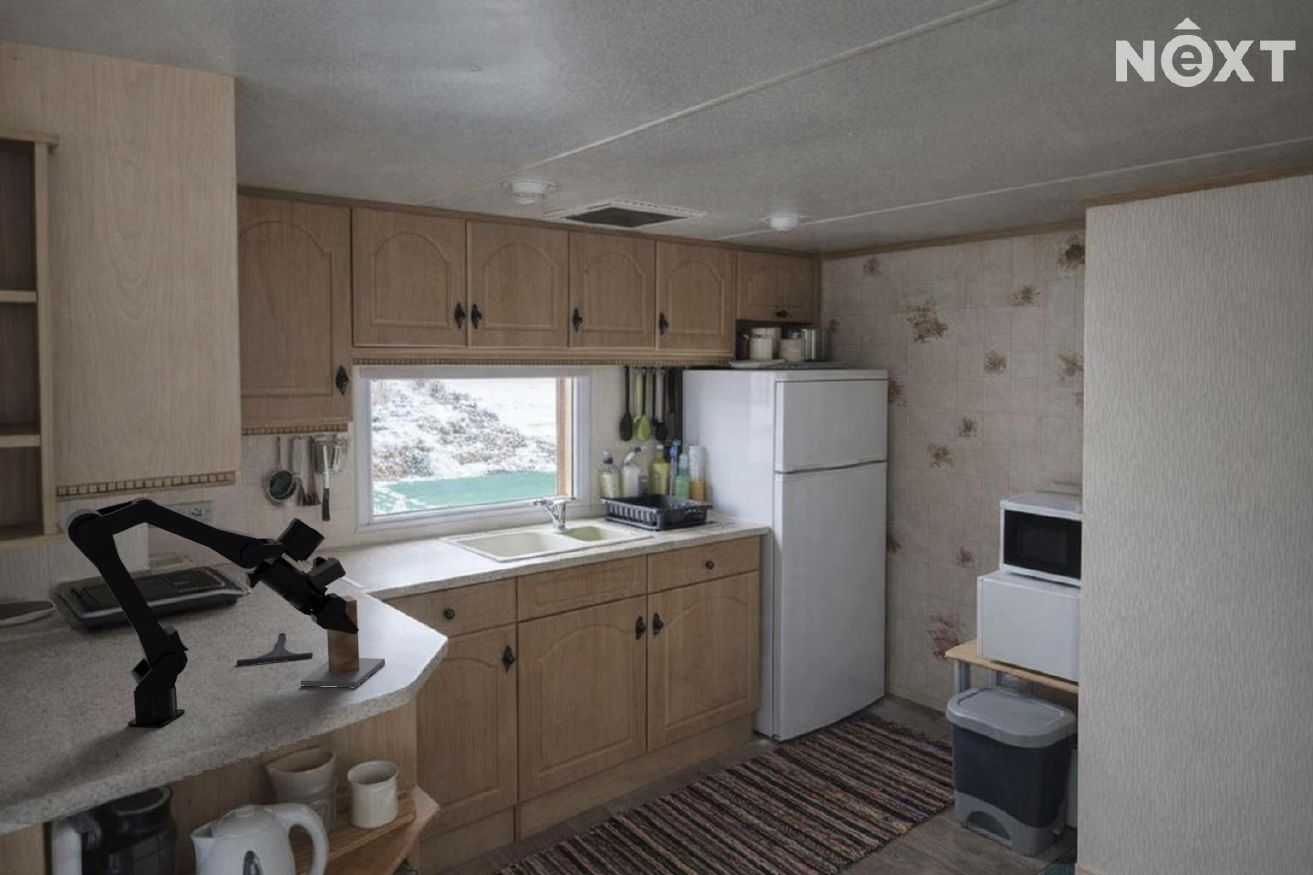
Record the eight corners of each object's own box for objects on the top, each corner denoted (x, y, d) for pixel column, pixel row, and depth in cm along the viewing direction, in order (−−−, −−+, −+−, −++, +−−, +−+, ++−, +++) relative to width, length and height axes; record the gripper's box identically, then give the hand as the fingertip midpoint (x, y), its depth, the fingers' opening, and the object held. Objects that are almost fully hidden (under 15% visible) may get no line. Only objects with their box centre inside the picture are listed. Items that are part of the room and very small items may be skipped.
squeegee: (317, 640, 196) (317, 627, 196) (312, 661, 182) (311, 648, 182) (247, 647, 192) (247, 635, 192) (236, 669, 178) (236, 656, 178)
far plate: (355, 688, 165) (355, 682, 165) (301, 686, 166) (300, 680, 166) (385, 664, 178) (384, 658, 177) (333, 663, 179) (333, 657, 179)
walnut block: (336, 674, 168) (333, 603, 167) (328, 668, 172) (325, 599, 171) (359, 669, 171) (356, 599, 170) (351, 663, 175) (348, 595, 174)
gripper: (333, 554, 160) (394, 602, 167) (302, 539, 174) (359, 584, 182) (290, 604, 156) (355, 651, 163) (262, 584, 170) (323, 628, 178)
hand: (349, 626), depth 172 cm, fingers open, 9 cm apart
